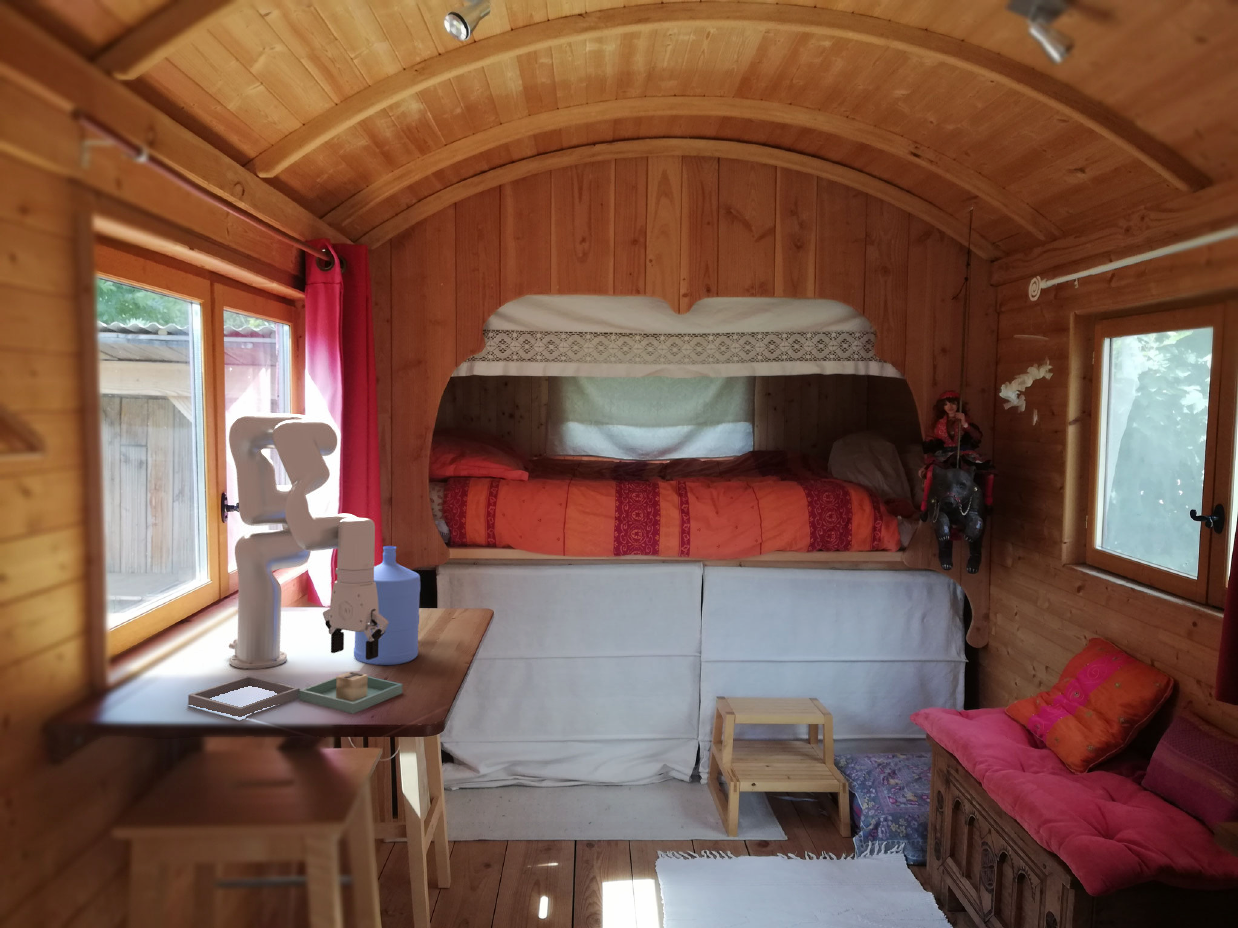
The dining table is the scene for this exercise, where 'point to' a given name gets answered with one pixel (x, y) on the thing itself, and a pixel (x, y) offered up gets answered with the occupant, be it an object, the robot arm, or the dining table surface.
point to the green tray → (327, 697)
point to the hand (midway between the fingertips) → (354, 654)
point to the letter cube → (351, 686)
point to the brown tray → (203, 697)
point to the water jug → (394, 613)
